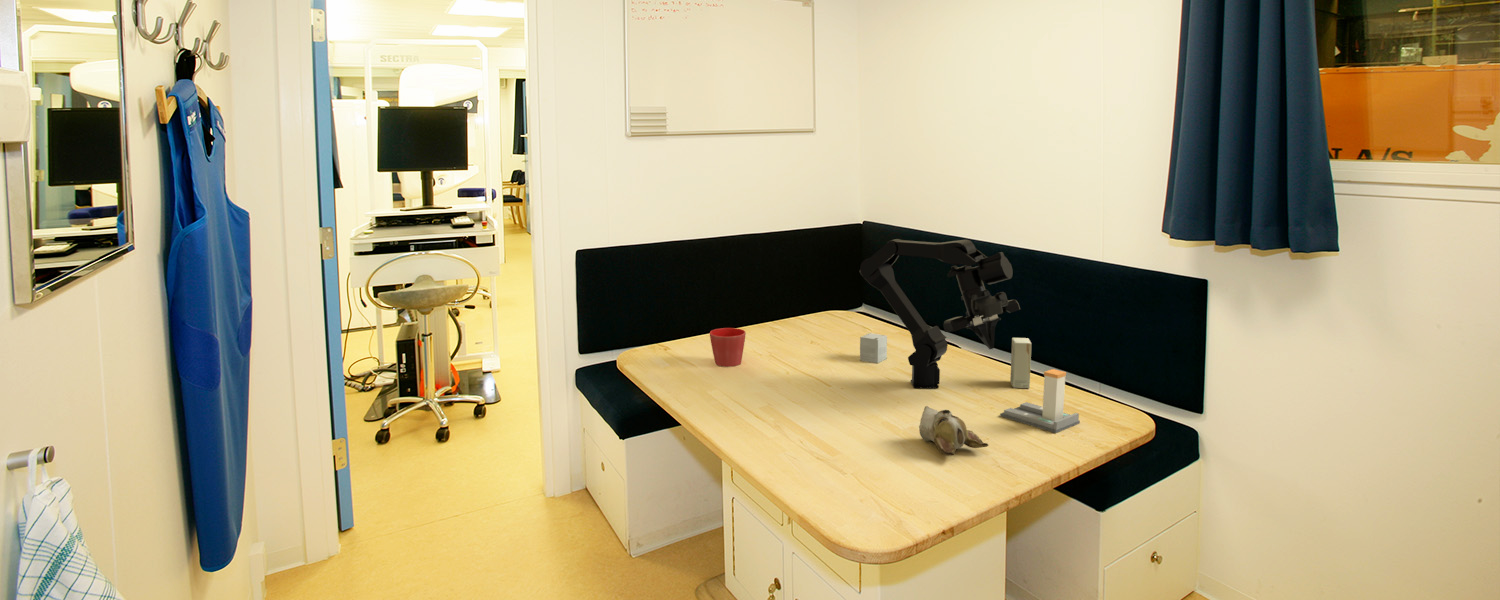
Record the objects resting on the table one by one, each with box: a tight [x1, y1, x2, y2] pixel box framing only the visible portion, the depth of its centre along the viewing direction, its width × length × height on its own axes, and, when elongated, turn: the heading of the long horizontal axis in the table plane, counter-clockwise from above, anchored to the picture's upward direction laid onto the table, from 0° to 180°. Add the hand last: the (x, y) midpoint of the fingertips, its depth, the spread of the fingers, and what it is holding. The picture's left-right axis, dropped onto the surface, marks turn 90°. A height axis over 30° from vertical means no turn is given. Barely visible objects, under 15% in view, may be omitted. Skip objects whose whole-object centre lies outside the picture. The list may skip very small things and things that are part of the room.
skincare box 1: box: [859, 332, 888, 364], centre depth 238 cm, size 6×6×7 cm
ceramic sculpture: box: [918, 405, 989, 456], centre depth 171 cm, size 11×9×15 cm
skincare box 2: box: [1010, 337, 1032, 389], centre depth 211 cm, size 6×4×12 cm
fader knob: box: [1042, 368, 1067, 421], centre depth 183 cm, size 3×3×11 cm
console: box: [999, 401, 1081, 434], centre depth 187 cm, size 15×10×2 cm, turn 37°
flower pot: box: [709, 327, 747, 368], centre depth 237 cm, size 11×11×10 cm
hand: (991, 348), depth 200 cm, fingers closed
